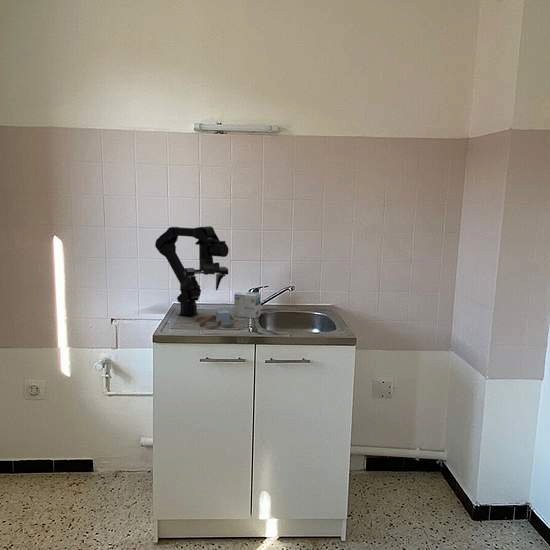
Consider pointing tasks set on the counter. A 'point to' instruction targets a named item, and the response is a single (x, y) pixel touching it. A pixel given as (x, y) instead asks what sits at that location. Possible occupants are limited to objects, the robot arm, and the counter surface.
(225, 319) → the slate block
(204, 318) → the trap lane
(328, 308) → the counter surface
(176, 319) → the counter surface
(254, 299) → the light bulb box
